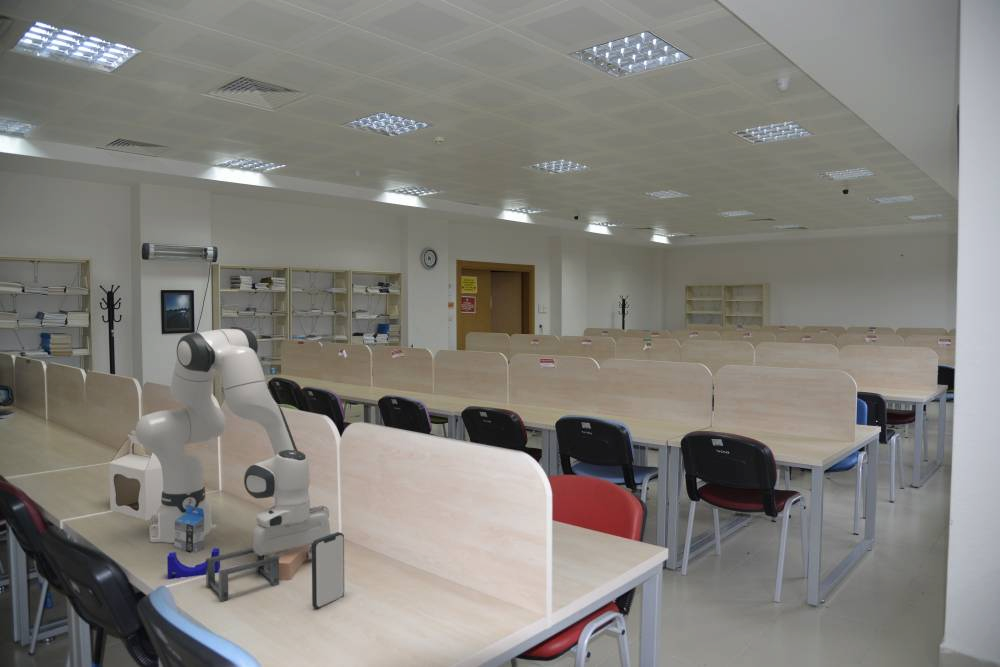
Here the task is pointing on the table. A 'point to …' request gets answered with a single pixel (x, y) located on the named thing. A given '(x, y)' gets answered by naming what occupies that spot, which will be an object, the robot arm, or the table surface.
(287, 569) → the salmon orange rectangular block
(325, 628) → the table surface
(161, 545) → the table surface
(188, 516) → the label tape box
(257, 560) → the grey metal frame stand
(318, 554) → the black smartphone
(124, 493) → the gable box
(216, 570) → the blue curved cradle stand
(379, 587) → the table surface
